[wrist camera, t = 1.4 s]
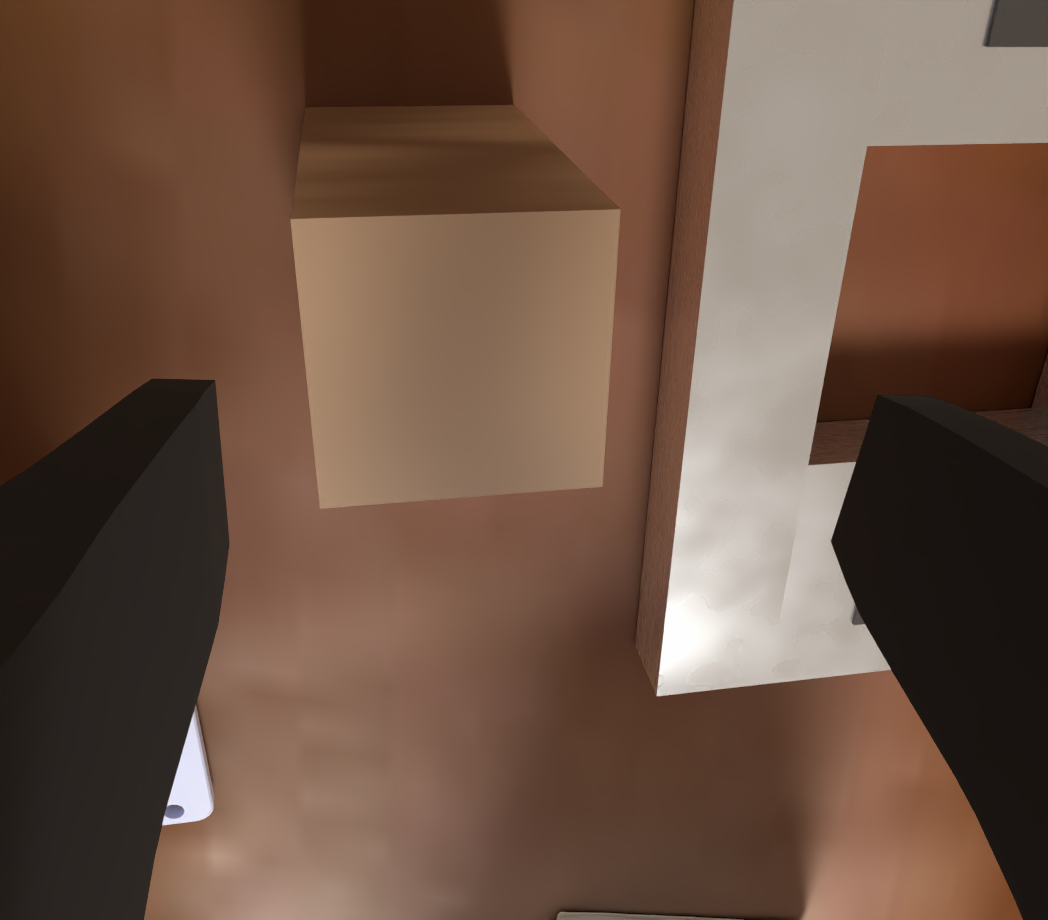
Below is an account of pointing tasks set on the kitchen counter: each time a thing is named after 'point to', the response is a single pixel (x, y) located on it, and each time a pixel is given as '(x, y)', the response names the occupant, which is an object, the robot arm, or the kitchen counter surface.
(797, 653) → the white flat piece
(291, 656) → the kitchen counter surface
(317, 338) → the walnut peg
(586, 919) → the tea box
